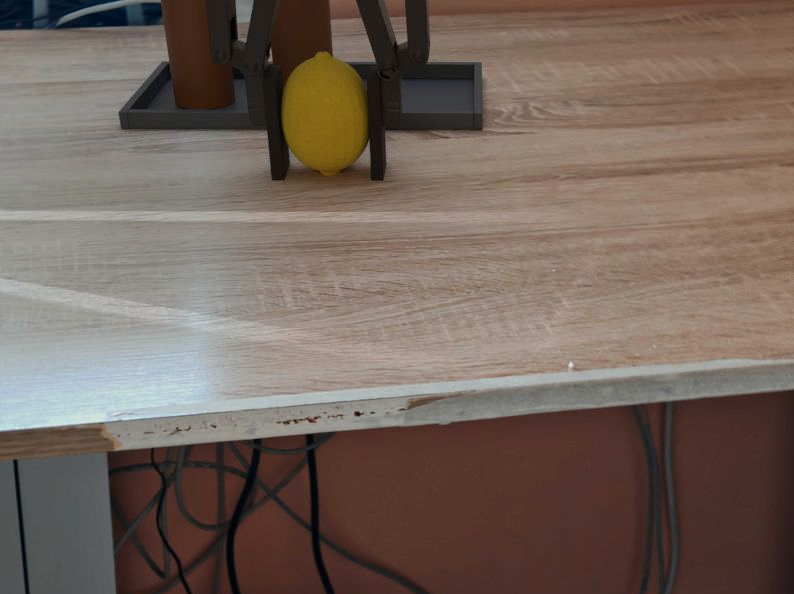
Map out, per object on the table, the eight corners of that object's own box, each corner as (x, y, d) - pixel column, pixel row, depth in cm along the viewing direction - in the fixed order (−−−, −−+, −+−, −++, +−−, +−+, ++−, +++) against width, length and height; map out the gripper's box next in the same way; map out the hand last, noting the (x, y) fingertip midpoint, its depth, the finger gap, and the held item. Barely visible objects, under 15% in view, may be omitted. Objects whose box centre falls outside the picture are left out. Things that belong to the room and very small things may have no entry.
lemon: (271, 187, 67) (259, 60, 63) (309, 156, 72) (301, 35, 68) (352, 199, 66) (346, 69, 62) (387, 167, 70) (383, 44, 66)
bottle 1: (168, 110, 79) (141, -76, 72) (182, 91, 82) (158, -88, 76) (229, 110, 79) (207, -76, 72) (240, 91, 82) (220, -88, 76)
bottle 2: (271, 110, 79) (253, -76, 72) (281, 91, 82) (264, -88, 76) (332, 110, 79) (319, -76, 72) (338, 91, 82) (327, -87, 76)
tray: (122, 136, 76) (118, 112, 75) (165, 83, 86) (161, 61, 85) (482, 137, 76) (482, 112, 75) (481, 84, 86) (481, 61, 85)
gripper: (105, -241, 53) (170, 195, 65) (480, -239, 53) (475, 198, 65) (145, -248, 60) (197, 151, 72) (479, -246, 60) (475, 153, 72)
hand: (329, 172), depth 69 cm, fingers closed on lemon, 5 cm apart
